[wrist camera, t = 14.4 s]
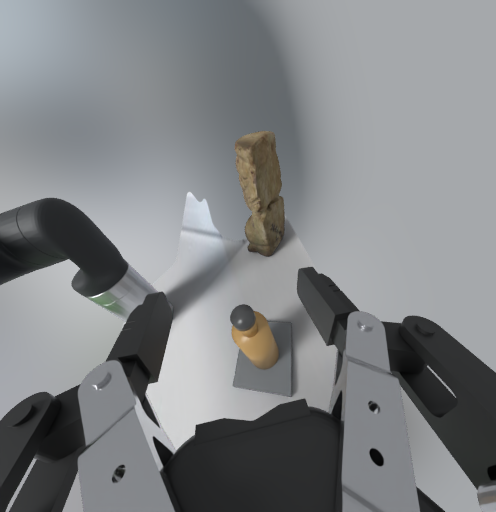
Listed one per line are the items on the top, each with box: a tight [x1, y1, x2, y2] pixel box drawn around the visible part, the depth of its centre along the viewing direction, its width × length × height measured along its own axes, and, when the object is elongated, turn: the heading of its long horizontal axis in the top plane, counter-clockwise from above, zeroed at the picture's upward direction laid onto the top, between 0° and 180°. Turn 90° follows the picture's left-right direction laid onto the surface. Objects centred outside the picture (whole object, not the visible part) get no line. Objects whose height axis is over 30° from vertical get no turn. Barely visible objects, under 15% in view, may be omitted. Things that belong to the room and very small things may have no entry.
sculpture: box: [235, 131, 285, 256], centre depth 47 cm, size 12×9×30 cm
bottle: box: [230, 305, 279, 370], centre depth 28 cm, size 6×6×15 cm
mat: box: [233, 321, 291, 397], centre depth 34 cm, size 10×12×1 cm
